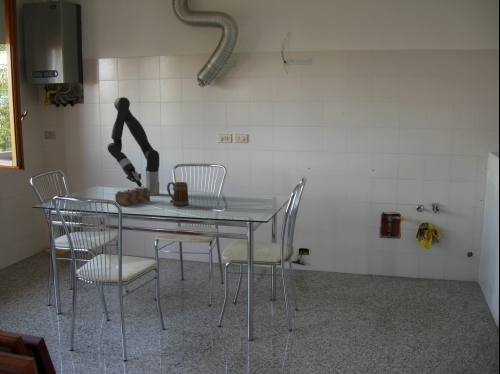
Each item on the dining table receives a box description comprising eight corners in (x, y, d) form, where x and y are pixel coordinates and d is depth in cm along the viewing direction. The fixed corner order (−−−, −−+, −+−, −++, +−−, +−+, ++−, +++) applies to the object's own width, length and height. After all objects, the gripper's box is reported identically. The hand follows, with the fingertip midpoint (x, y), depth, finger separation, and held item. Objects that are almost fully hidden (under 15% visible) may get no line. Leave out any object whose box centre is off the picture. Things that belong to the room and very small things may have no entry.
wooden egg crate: (140, 199, 346) (140, 186, 345) (150, 201, 342) (149, 188, 340) (115, 205, 325) (115, 191, 324) (125, 206, 321) (124, 193, 320)
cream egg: (141, 188, 342) (140, 185, 342) (146, 189, 340) (146, 186, 340) (136, 189, 338) (136, 186, 338) (141, 190, 336) (141, 187, 336)
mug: (191, 204, 333) (191, 182, 331) (183, 207, 323) (183, 184, 321) (172, 202, 339) (172, 180, 337) (163, 204, 330) (163, 182, 327)
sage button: (124, 192, 329) (124, 189, 328) (129, 193, 326) (129, 190, 326) (119, 193, 325) (119, 190, 324) (124, 194, 323) (124, 191, 322)
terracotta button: (132, 191, 336) (132, 188, 335) (138, 191, 333) (137, 189, 333) (128, 192, 332) (127, 189, 331) (133, 192, 329) (133, 189, 329)
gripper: (122, 163, 335) (136, 183, 331) (136, 162, 347) (150, 181, 343) (117, 170, 339) (130, 190, 335) (131, 168, 350) (144, 187, 346)
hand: (140, 185), depth 339 cm, fingers closed
